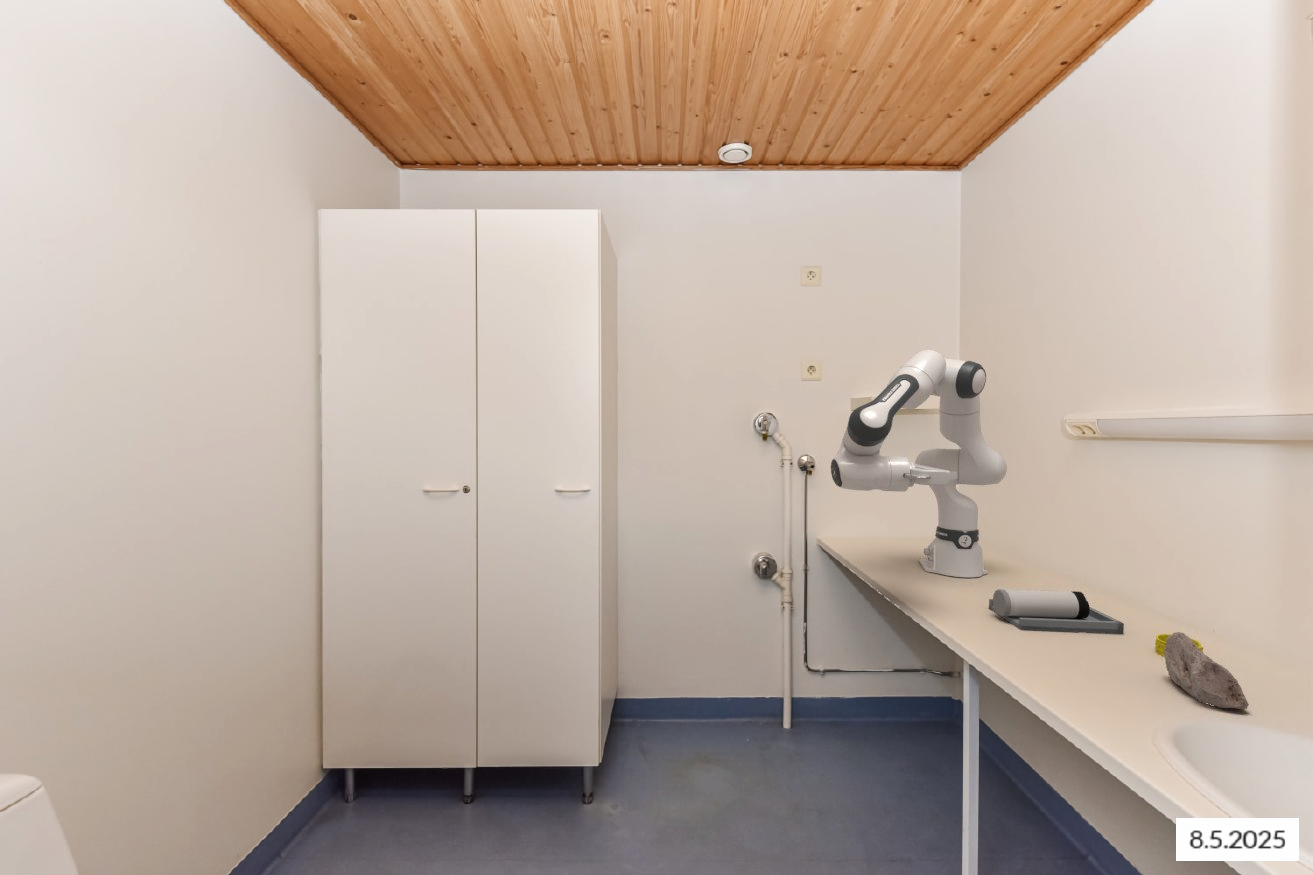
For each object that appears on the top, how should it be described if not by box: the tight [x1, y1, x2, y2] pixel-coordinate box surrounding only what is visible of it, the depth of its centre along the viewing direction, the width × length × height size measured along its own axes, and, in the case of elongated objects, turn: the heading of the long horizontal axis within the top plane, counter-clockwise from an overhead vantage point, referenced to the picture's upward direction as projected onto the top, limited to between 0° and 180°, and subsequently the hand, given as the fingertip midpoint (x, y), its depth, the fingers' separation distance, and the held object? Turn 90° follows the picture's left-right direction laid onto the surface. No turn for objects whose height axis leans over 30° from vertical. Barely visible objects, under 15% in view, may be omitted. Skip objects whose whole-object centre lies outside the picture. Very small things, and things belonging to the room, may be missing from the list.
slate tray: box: [988, 598, 1125, 635], centre depth 146 cm, size 16×22×2 cm
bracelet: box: [1154, 633, 1204, 658], centre depth 125 cm, size 7×8×3 cm
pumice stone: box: [1164, 631, 1249, 710], centre depth 107 cm, size 15×8×10 cm, turn 161°
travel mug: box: [992, 588, 1091, 618], centre depth 145 cm, size 6×7×20 cm
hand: (954, 475), depth 152 cm, fingers closed
